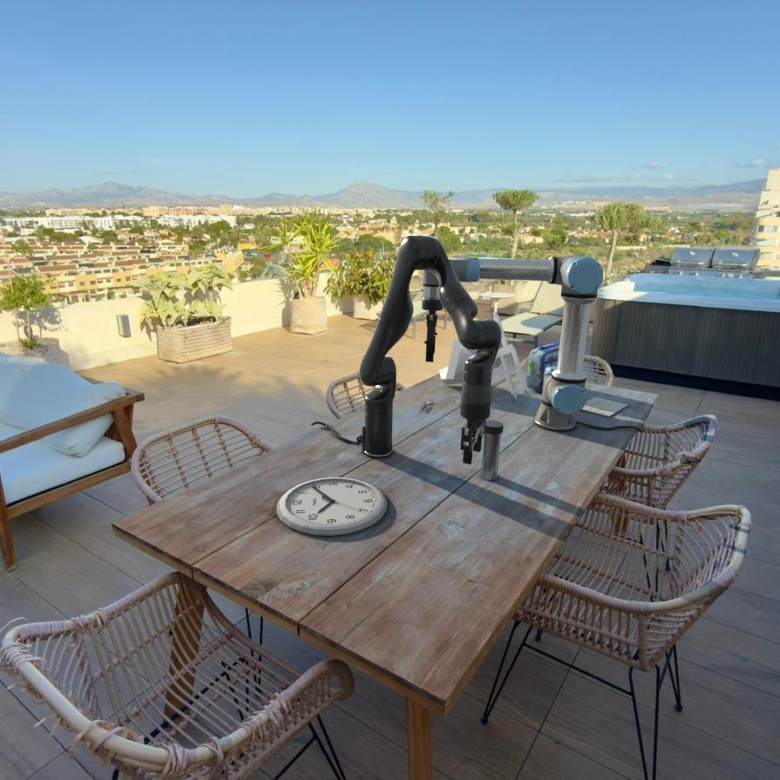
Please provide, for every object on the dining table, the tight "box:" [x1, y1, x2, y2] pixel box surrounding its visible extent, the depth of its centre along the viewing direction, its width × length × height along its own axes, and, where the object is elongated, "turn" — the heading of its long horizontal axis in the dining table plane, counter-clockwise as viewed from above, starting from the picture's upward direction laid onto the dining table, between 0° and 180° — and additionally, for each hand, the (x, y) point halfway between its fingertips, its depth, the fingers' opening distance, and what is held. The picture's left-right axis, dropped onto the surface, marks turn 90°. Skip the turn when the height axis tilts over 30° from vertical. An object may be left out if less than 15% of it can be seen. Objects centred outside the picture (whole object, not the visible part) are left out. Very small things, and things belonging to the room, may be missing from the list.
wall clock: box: [276, 476, 388, 537], centre depth 142 cm, size 30×2×30 cm
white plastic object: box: [438, 310, 531, 400], centre depth 245 cm, size 37×45×31 cm
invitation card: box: [580, 396, 629, 418], centre depth 226 cm, size 21×1×15 cm
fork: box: [420, 396, 435, 411], centre depth 223 cm, size 3×16×2 cm, turn 160°
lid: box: [485, 419, 504, 435], centre depth 156 cm, size 6×6×2 cm
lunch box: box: [525, 343, 560, 393], centre depth 249 cm, size 26×11×21 cm, turn 134°
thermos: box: [480, 433, 502, 481], centre depth 158 cm, size 5×5×17 cm
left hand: (472, 457), depth 137 cm, fingers open, 8 cm apart
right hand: (430, 357), depth 190 cm, fingers open, 13 cm apart
